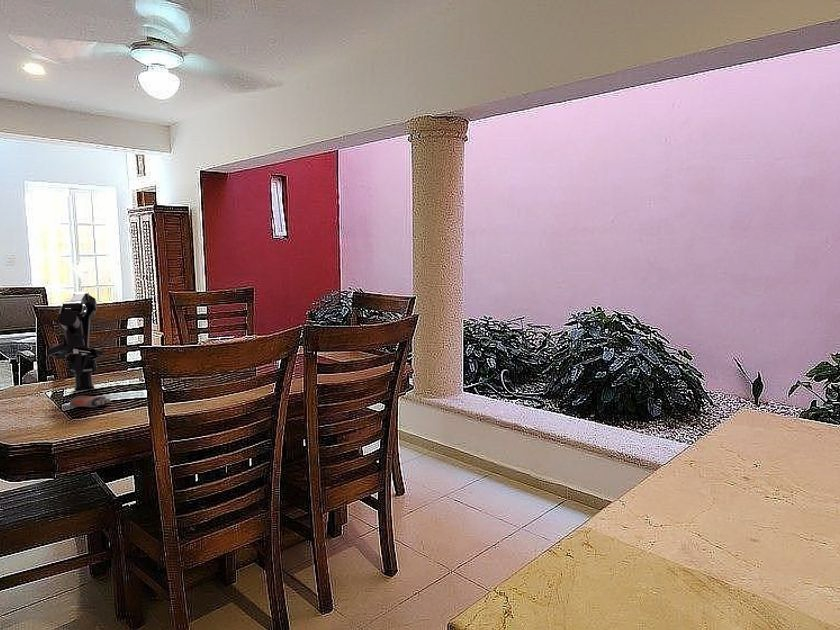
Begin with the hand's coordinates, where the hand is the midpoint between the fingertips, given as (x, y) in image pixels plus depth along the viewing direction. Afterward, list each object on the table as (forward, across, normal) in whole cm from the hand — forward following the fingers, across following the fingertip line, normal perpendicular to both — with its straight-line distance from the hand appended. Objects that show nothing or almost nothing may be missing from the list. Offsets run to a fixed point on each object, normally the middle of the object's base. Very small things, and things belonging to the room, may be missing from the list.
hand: (79, 375), depth 206 cm
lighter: (+11, +5, +3) cm, 12 cm away
